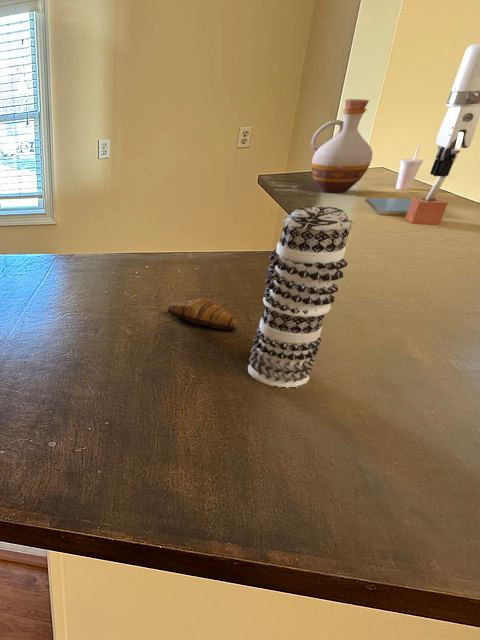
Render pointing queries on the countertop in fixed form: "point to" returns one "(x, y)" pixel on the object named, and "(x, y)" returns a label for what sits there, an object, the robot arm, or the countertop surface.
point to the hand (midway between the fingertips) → (438, 174)
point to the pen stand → (426, 210)
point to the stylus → (437, 186)
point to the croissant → (204, 313)
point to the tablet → (390, 205)
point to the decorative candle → (299, 294)
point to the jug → (342, 152)
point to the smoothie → (408, 172)
